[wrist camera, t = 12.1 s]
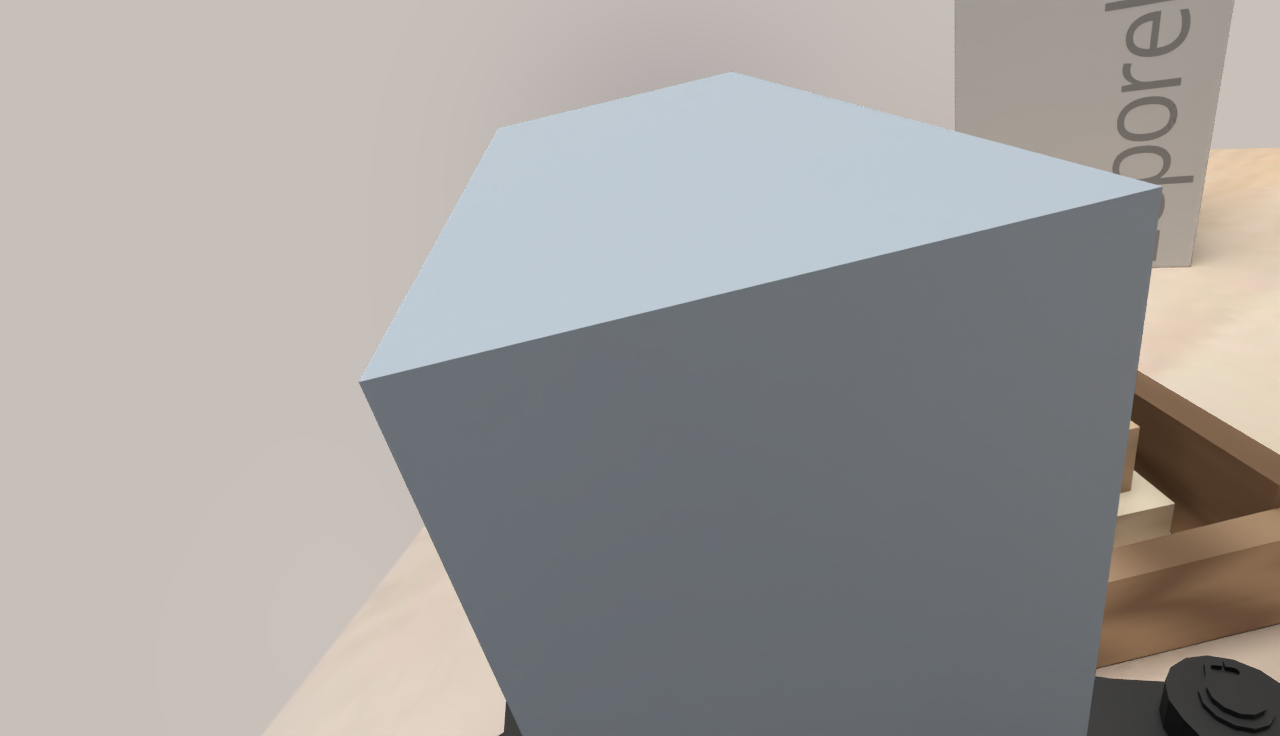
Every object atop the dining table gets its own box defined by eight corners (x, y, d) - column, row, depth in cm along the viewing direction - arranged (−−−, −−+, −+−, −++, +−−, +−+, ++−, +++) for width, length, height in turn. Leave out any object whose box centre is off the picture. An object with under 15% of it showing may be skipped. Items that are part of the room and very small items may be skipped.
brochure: (954, 270, 53) (953, -225, 39) (963, 243, 57) (964, -213, 43) (1190, 266, 45) (1290, -341, 32) (1180, 236, 49) (1266, -314, 36)
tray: (1001, 370, 40) (1003, 291, 37) (1315, 614, 23) (1353, 499, 21) (611, 465, 40) (590, 392, 37) (651, 777, 23) (617, 679, 21)
